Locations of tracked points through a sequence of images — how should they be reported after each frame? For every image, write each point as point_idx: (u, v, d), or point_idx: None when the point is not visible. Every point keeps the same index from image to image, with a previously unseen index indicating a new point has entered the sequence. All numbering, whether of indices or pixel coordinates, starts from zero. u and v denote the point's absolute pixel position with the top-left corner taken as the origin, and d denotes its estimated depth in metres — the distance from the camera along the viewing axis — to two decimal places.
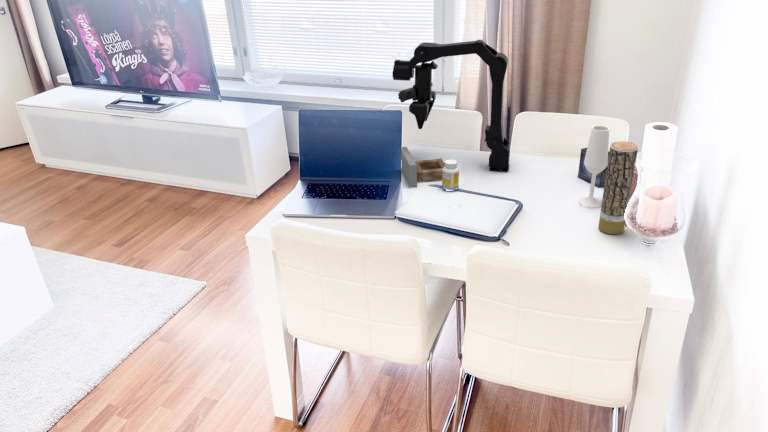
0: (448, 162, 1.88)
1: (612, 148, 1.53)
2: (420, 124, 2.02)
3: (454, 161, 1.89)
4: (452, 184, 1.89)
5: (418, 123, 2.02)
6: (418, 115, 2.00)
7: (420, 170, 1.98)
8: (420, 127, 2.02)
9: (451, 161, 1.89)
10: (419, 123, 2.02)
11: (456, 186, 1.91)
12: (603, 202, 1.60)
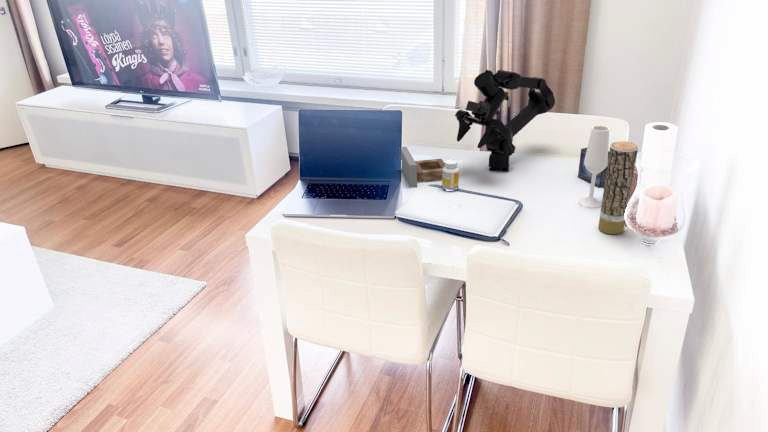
0: (448, 162, 1.88)
1: (612, 148, 1.53)
2: (483, 143, 1.88)
3: (454, 161, 1.89)
4: (452, 184, 1.89)
5: (483, 141, 1.88)
6: (488, 134, 1.88)
7: (420, 170, 1.98)
8: (480, 146, 1.88)
9: (451, 161, 1.89)
10: (483, 142, 1.88)
11: (456, 186, 1.91)
12: (603, 202, 1.60)
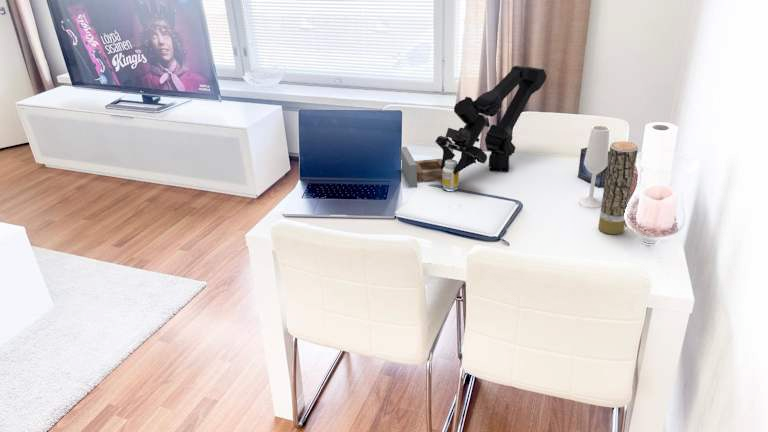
0: (448, 162, 1.88)
1: (612, 148, 1.53)
2: (458, 169, 1.87)
3: (454, 161, 1.89)
4: (452, 184, 1.89)
5: (458, 167, 1.87)
6: (464, 160, 1.87)
7: (420, 170, 1.98)
8: (456, 172, 1.87)
9: (451, 161, 1.89)
10: (458, 168, 1.87)
11: (456, 186, 1.91)
12: (603, 202, 1.60)
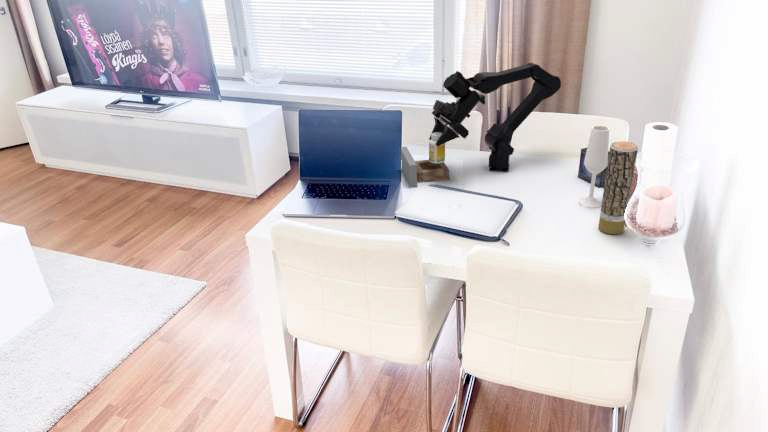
0: (434, 134, 1.93)
1: (612, 148, 1.53)
2: (441, 142, 1.91)
3: (440, 134, 1.93)
4: (435, 156, 1.94)
5: (440, 140, 1.91)
6: (447, 133, 1.90)
7: (420, 170, 1.98)
8: (438, 144, 1.92)
9: (437, 133, 1.94)
10: (441, 140, 1.91)
11: (440, 159, 1.95)
12: (603, 202, 1.60)
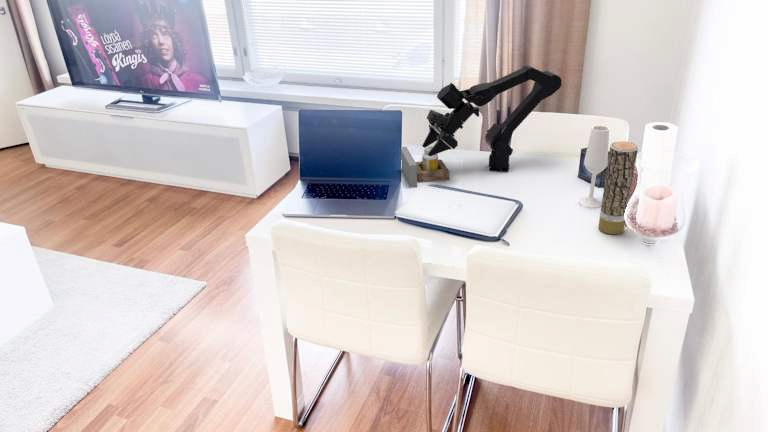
0: (427, 148, 1.99)
1: (612, 148, 1.53)
2: (433, 152, 1.95)
3: None
4: (427, 169, 2.00)
5: (433, 150, 1.94)
6: (439, 144, 1.93)
7: (420, 171, 1.99)
8: (430, 154, 1.95)
9: (430, 148, 2.00)
10: (433, 151, 1.95)
11: None
12: (603, 202, 1.60)
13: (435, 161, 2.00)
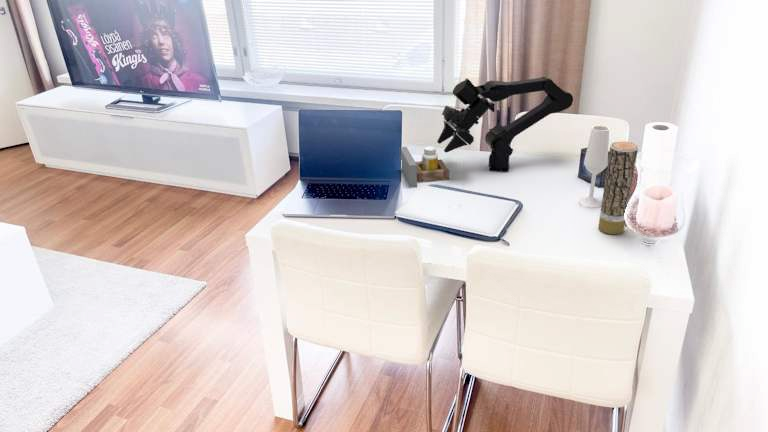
0: (426, 148, 1.99)
1: (612, 148, 1.53)
2: (449, 148, 1.95)
3: (433, 148, 1.99)
4: (427, 169, 2.00)
5: (449, 146, 1.94)
6: (455, 140, 1.93)
7: (420, 171, 1.98)
8: (446, 150, 1.95)
9: (430, 148, 2.00)
10: (449, 147, 1.95)
11: None
12: (603, 202, 1.60)
13: (435, 161, 2.00)
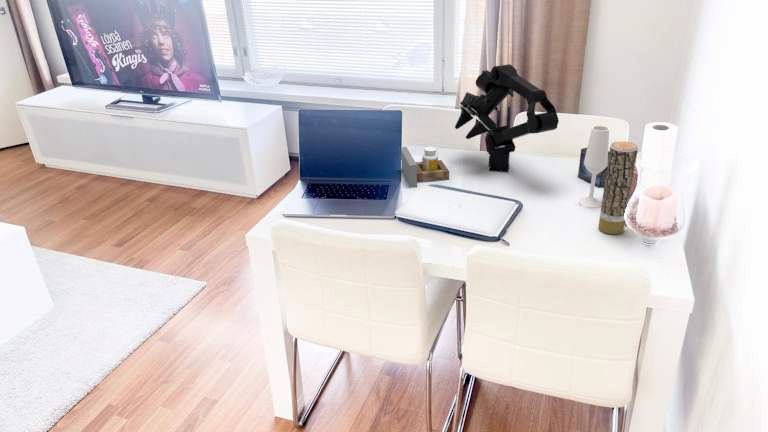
0: (427, 149, 1.99)
1: (612, 148, 1.53)
2: (471, 135, 1.97)
3: (433, 149, 1.99)
4: (427, 170, 2.00)
5: (471, 133, 1.96)
6: (478, 127, 1.95)
7: (420, 171, 1.99)
8: (468, 137, 1.97)
9: (431, 148, 2.00)
10: (471, 134, 1.97)
11: None
12: (603, 202, 1.60)
13: (435, 162, 1.99)
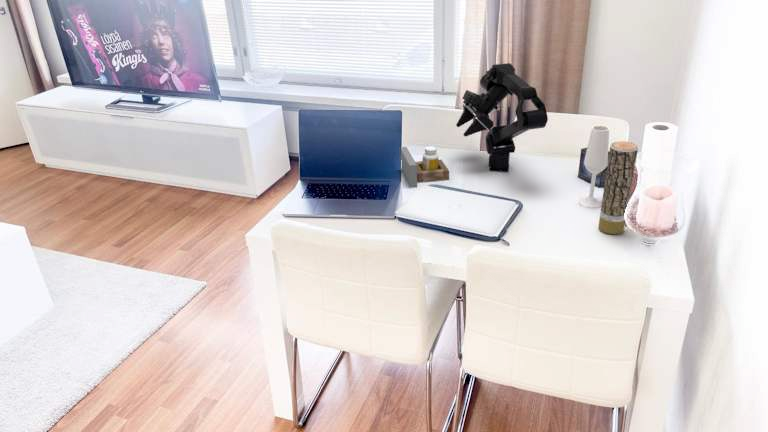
0: (427, 148, 1.99)
1: (612, 148, 1.53)
2: (469, 132, 1.98)
3: (434, 148, 1.99)
4: (427, 169, 2.00)
5: (468, 131, 1.98)
6: (475, 125, 1.97)
7: (420, 171, 1.99)
8: (466, 135, 1.99)
9: (431, 148, 1.99)
10: (469, 131, 1.98)
11: None
12: (603, 202, 1.60)
13: (435, 161, 1.99)
